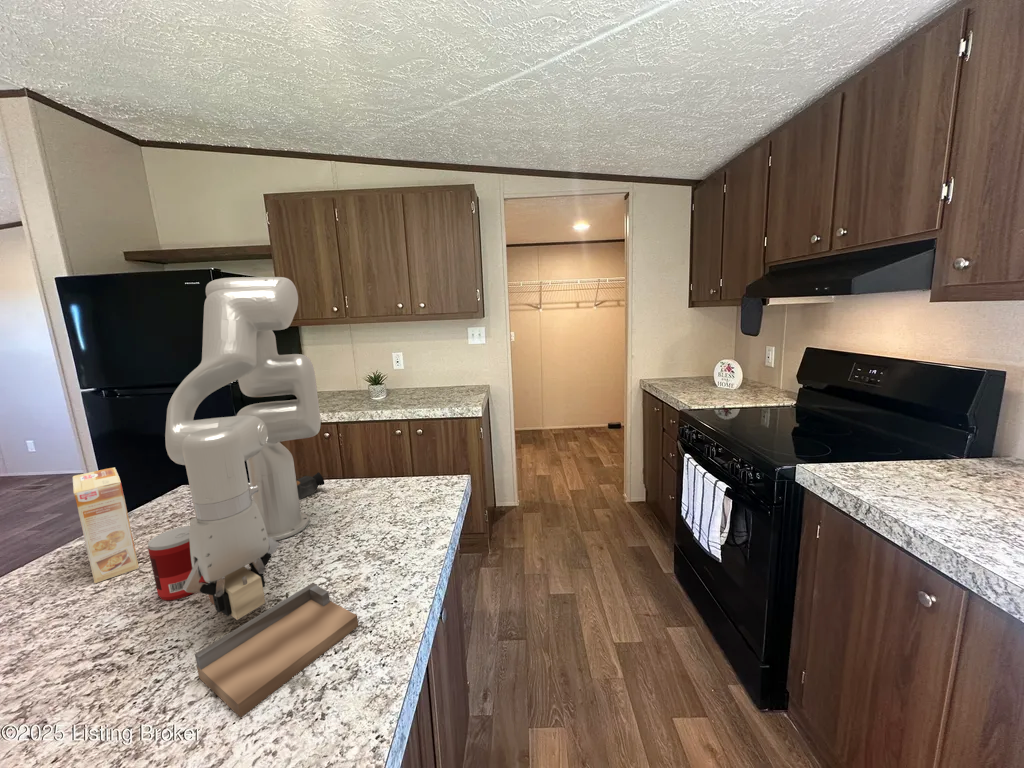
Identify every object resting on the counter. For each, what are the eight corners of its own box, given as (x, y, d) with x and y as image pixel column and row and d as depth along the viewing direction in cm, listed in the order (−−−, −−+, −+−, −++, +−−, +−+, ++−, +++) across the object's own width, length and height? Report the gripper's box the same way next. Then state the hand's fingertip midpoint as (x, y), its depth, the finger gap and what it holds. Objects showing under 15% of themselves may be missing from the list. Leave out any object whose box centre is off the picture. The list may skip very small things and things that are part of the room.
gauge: (209, 601, 72) (201, 560, 70) (240, 584, 76) (233, 545, 74) (235, 621, 67) (227, 577, 66) (266, 601, 71) (259, 560, 70)
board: (199, 677, 59) (194, 653, 59) (315, 602, 74) (312, 582, 74) (240, 717, 53) (235, 690, 52) (358, 626, 68) (355, 604, 67)
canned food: (219, 578, 83) (210, 527, 81) (176, 605, 75) (165, 549, 74) (193, 572, 85) (183, 522, 84) (148, 597, 78) (137, 543, 76)
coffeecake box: (140, 568, 88) (121, 481, 85) (93, 585, 83) (71, 493, 80) (132, 544, 98) (115, 465, 95) (90, 558, 93) (70, 475, 90)
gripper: (264, 479, 76) (279, 568, 80) (149, 522, 62) (173, 627, 66) (287, 488, 72) (301, 581, 76) (169, 535, 58) (194, 646, 62)
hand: (242, 601), depth 71 cm, fingers closed on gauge, 4 cm apart
